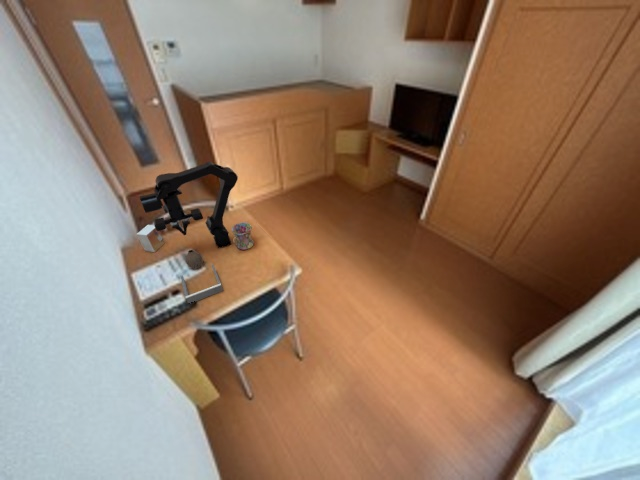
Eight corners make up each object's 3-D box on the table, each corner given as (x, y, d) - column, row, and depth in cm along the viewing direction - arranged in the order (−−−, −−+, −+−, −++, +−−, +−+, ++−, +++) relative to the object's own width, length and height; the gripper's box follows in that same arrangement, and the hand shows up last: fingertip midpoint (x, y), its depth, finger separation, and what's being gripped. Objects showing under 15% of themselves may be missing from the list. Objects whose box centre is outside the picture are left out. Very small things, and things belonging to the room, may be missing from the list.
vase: (207, 262, 124) (202, 248, 118) (197, 272, 119) (191, 258, 113) (195, 258, 126) (189, 244, 120) (184, 268, 120) (178, 254, 115)
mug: (242, 237, 138) (239, 220, 131) (258, 241, 136) (255, 224, 129) (228, 252, 129) (223, 234, 123) (245, 256, 127) (241, 239, 120)
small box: (155, 252, 129) (146, 235, 122) (145, 251, 130) (135, 234, 123) (165, 242, 135) (157, 225, 128) (156, 240, 136) (147, 224, 129)
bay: (215, 270, 120) (213, 264, 117) (223, 290, 111) (221, 284, 108) (183, 281, 114) (180, 275, 112) (188, 304, 105) (185, 298, 103)
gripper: (193, 191, 120) (202, 219, 130) (146, 202, 113) (160, 231, 123) (198, 202, 113) (207, 231, 122) (148, 214, 105) (163, 245, 115)
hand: (185, 234), depth 121 cm, fingers closed
